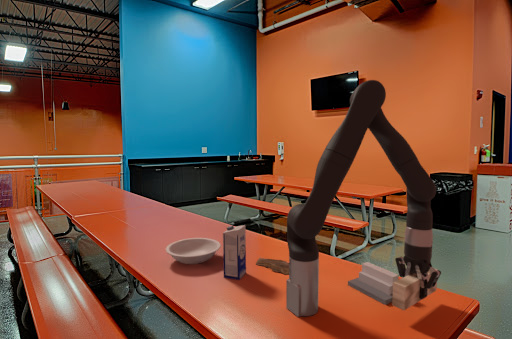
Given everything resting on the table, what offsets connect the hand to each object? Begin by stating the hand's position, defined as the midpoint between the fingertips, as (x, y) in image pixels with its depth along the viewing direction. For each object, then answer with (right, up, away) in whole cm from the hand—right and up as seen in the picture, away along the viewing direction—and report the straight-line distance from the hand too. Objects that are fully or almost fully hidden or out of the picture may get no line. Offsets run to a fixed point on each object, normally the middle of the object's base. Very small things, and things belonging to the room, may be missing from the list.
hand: (415, 294), depth 96 cm
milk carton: (-58, -3, +27) cm, 64 cm away
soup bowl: (-77, -2, +42) cm, 88 cm away
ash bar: (0, -1, 0) cm, 1 cm away
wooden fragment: (-39, -3, +34) cm, 52 cm away
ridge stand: (-6, -4, +15) cm, 16 cm away
